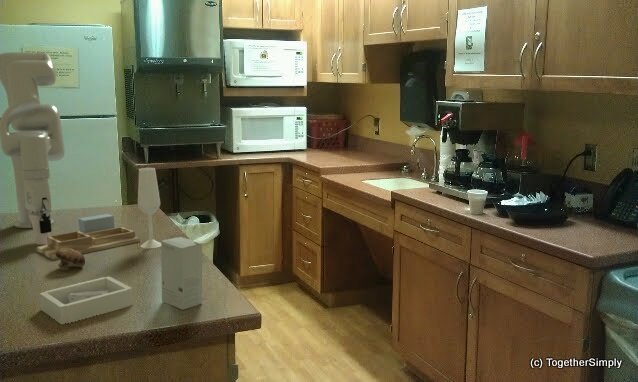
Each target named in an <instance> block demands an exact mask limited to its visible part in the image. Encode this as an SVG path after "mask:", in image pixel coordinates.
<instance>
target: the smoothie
mask: <svg viewBox="0 0 638 382" xmlns="http://www.w3.org/2000/svg"><path fill="white" fill-rule="evenodd" d="M41 211H42V209H41ZM43 214H44V213H42V216H43ZM50 214H51V215H50V217H51V216H52V212H51V213H50ZM29 218H30V219H31V223H32V227H33V229H32V231H33V235H34V238H35V240H34V241H35V243H36V245H39V246H43V245H48V244H47V236H50V233H51V232H48V233H43V234H42V233H40V223H39V221H41V220H40V216H39V212H37V213H35V212H32V213H30V214H29Z"/></svg>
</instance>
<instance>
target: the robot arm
mask: <svg viewBox="0 0 638 382" xmlns="http://www.w3.org/2000/svg"><path fill="white" fill-rule="evenodd" d="M56 77H57V75H56V68H55V65H54V63H53V61H52V59H51V57H50V55H49V54H48V53H46V52H23V51H21V52H20V51H19V52H18V51H16V52H15V51H14V52H13V51H11V52H3V53H0V83H1V85H2V86H3V88H4V90H5V93H6V96H7V108H6V109H5V110H4V112H3V114H2V115H1V117H0V148H1V150H2V153H3V154H4V155H5V156H7V157H10V160H11V163H12V168H13V175H14V183H15V194H16V203H17V212H18V213H17V214H18V220H17V221H15V222H14V227H16V228H18V229H32V230H33V227H32V223H31V219H30V218H29V214H30V213H32V212H35V213H37V212H39V216H40V220H41V221H39V223H40V233H42V234H43V233H48V232H50V233H51V232H52V225H53V224H54V222H55V221H54V219H53V218H52V217H51V216H52V199H51V197H52V196H51V190H50V184H49V183H50V182H49V179H51V174H50V167H49V166H50V165H49V163H50V162H57V161H60V160H63V158H64V156H65V144H64V143H65V142H64V136H63V128H62V121H61V120H62V119H61V116H60V111H59V110H58V108H57V106H55V105H54V104H49V103H47V104H46V103H45V104H41V99H40V94H39V88H38V87H46V86H48V87H51V86H53V85H54V84H55V83H56V79H57V78H56ZM10 125H11V128H12V129H13V131H15V132H10V129H9V128H10ZM41 209H42V211H41ZM42 213H44V214H43V216H42ZM50 213H51V214H50ZM50 215H51V216H50Z"/></svg>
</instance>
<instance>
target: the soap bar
mask: <svg viewBox="0 0 638 382" xmlns="http://www.w3.org/2000/svg"><path fill="white" fill-rule="evenodd" d="M107 293H108V291H107V290H102V291H94V292H92V291H88V292H78V293H70V294H69V295H68V303H72V302H76V301H80V300H84V299H87V298H91V297H95V296H99V295H103V294H107Z"/></svg>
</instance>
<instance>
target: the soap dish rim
mask: <svg viewBox="0 0 638 382" xmlns="http://www.w3.org/2000/svg"><path fill="white" fill-rule="evenodd" d="M102 290H107V291H108V293H107V294H103V295H99V296H95V297H91V298H87V299H84V300H80V301H76V302H72V303H68V295H69V294H70V293H78V292H88V291H92V292H94V291H102ZM133 297H134V296H133V287H131V286H129V285H127V284H126V283H123V282H121V281H119V280H117V279H116V278H113V277H111V276H104V277H100V278H94V279H90V280H87V281H83V282H78V283H74V284H70V285H66V286H61V287H57V288H54V289H50V290H46V291H44V292H39V301H40V308H41V309H40V310H41V311H42V312H43V313H45V314H46V315H47V316H49V317H51V319H53V320H54V319H55V320H54V321H56V322H57V323H59V324H60V325H61V324H63V325H66V324H68V323H69V324H72V323H71V322H73V323H75V321H76V322H79V321H78V320H80V321H83V320H86V319H85V318H87V319H90V318H93V316H94V317H96V315H97V316H100V314H101V315H104V314H107V313H110V312H114V311H117V310H122V309H126V308H128V307H130V306H133V305H134V298H133ZM89 317H90V318H89ZM82 319H83V320H82ZM65 323H66V324H65Z"/></svg>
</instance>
